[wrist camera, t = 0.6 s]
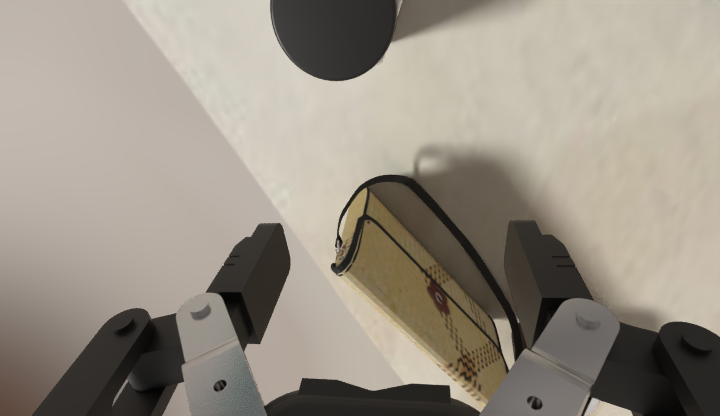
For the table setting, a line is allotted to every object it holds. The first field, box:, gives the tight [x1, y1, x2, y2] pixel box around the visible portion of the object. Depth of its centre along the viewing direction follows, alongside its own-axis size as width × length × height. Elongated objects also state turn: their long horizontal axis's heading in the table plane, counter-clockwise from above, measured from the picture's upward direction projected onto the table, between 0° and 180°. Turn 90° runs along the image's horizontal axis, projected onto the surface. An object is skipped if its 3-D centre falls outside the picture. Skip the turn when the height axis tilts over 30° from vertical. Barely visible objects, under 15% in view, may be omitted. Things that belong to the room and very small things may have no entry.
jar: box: [270, 0, 403, 81], centre depth 29 cm, size 9×8×12 cm
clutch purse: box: [331, 175, 523, 407], centre depth 41 cm, size 30×7×15 cm, turn 42°
